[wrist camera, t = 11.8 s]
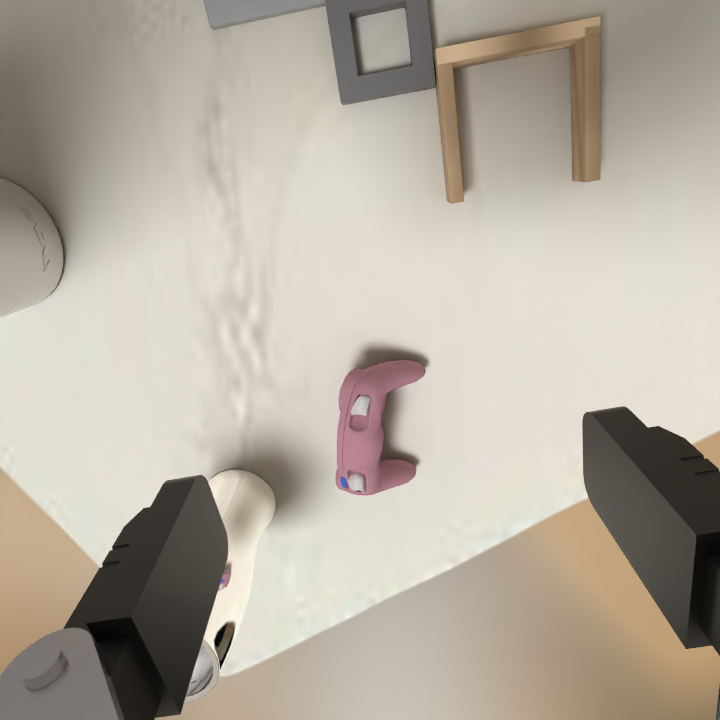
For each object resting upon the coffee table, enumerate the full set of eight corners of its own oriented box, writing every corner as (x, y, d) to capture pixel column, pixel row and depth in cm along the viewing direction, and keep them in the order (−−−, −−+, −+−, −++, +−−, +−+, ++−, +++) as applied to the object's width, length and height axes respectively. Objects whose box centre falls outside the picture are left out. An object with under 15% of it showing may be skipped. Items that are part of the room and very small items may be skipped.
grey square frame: (343, 105, 32) (341, 102, 30) (326, -2, 30) (323, -8, 29) (434, 87, 31) (435, 84, 30) (423, -22, 29) (424, -30, 28)
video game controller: (375, 345, 39) (322, 374, 33) (431, 358, 36) (384, 391, 31) (369, 459, 42) (320, 502, 36) (420, 477, 40) (376, 526, 34)
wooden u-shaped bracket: (447, 200, 33) (450, 203, 31) (433, 57, 30) (435, 48, 28) (585, 178, 32) (600, 179, 30) (584, 27, 29) (600, 15, 27)
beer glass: (189, 515, 44) (88, 680, 30) (213, 451, 41) (116, 598, 27) (265, 545, 44) (201, 722, 30) (293, 484, 42) (238, 645, 28)
